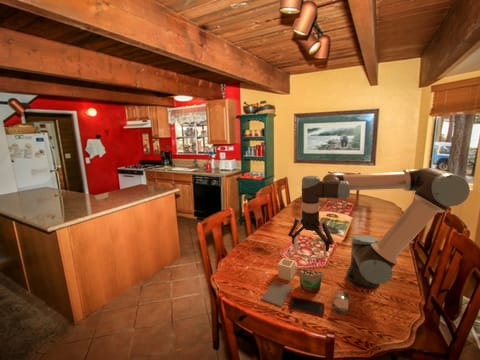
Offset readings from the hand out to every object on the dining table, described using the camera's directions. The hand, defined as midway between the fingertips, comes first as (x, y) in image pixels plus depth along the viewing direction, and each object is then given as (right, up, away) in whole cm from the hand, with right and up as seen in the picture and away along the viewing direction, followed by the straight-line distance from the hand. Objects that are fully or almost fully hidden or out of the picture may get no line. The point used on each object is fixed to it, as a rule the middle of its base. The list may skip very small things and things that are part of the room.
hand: (309, 253), depth 110 cm
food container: (+1, -19, +4) cm, 20 cm away
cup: (-8, -17, +16) cm, 25 cm away
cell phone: (-3, -22, -6) cm, 23 cm away
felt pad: (-15, -20, +3) cm, 25 cm away
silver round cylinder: (+11, -21, -8) cm, 25 cm away
